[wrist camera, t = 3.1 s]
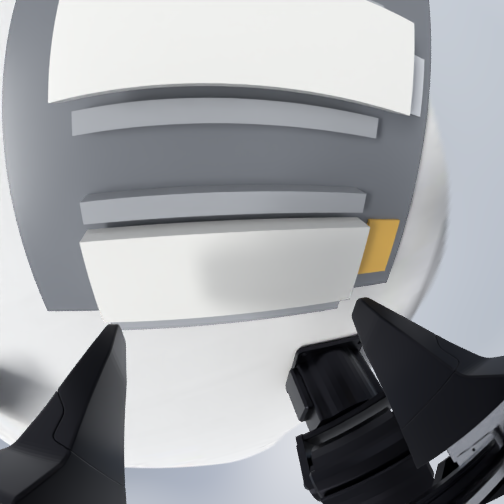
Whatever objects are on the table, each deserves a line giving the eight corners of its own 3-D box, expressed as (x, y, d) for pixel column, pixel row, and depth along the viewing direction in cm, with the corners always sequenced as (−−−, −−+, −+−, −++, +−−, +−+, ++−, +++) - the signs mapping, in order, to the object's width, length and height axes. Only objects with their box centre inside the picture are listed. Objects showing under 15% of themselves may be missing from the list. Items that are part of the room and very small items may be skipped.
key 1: (357, 217, 14) (370, 227, 13) (340, 286, 16) (349, 299, 15) (87, 229, 11) (79, 242, 10) (107, 306, 13) (103, 322, 12)
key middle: (396, 26, 8) (414, 23, 7) (391, 112, 10) (409, 115, 9) (73, -2, 5) (62, -12, 4) (62, 102, 7) (47, 103, 6)
